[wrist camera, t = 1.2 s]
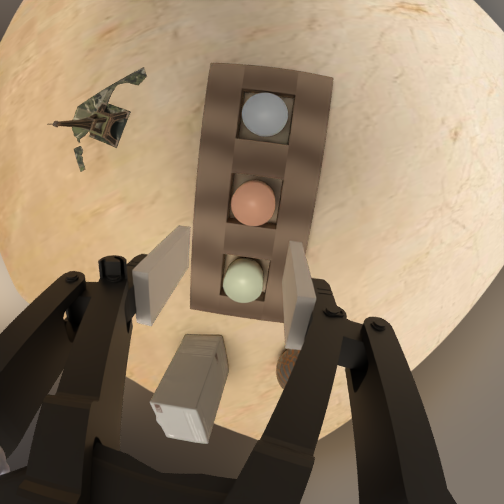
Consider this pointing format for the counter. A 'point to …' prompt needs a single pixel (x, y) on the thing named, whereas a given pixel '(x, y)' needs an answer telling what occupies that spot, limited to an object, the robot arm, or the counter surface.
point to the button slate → (265, 114)
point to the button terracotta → (253, 203)
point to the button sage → (243, 280)
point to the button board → (258, 164)
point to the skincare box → (192, 388)
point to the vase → (286, 365)
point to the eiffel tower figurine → (101, 117)
